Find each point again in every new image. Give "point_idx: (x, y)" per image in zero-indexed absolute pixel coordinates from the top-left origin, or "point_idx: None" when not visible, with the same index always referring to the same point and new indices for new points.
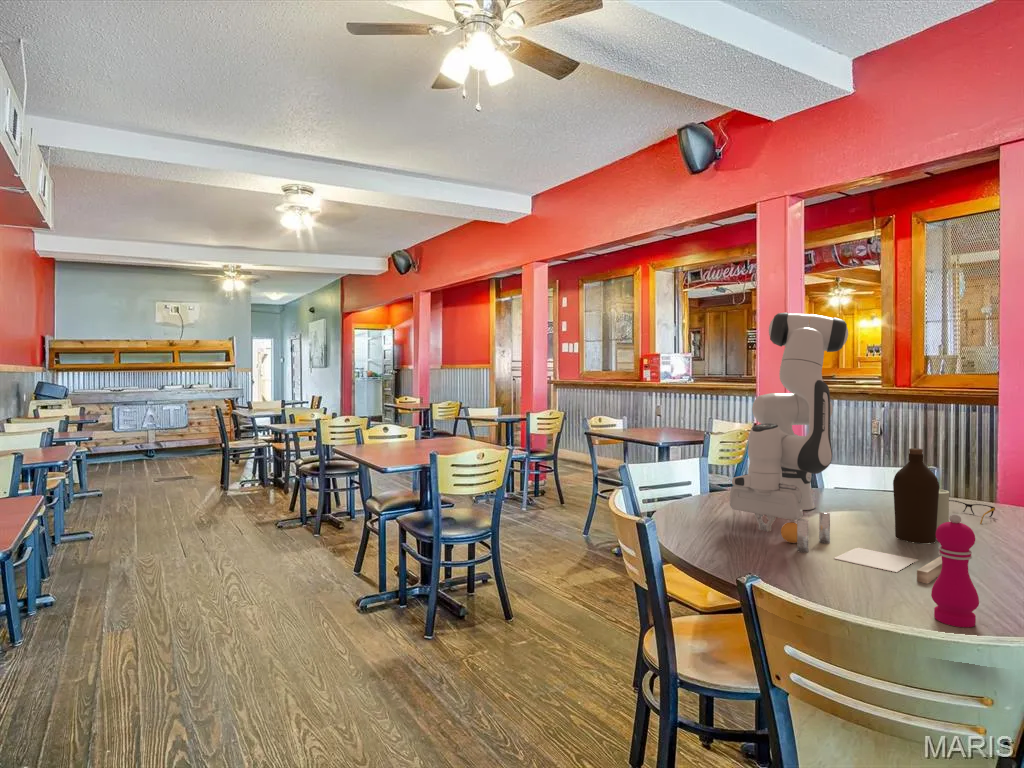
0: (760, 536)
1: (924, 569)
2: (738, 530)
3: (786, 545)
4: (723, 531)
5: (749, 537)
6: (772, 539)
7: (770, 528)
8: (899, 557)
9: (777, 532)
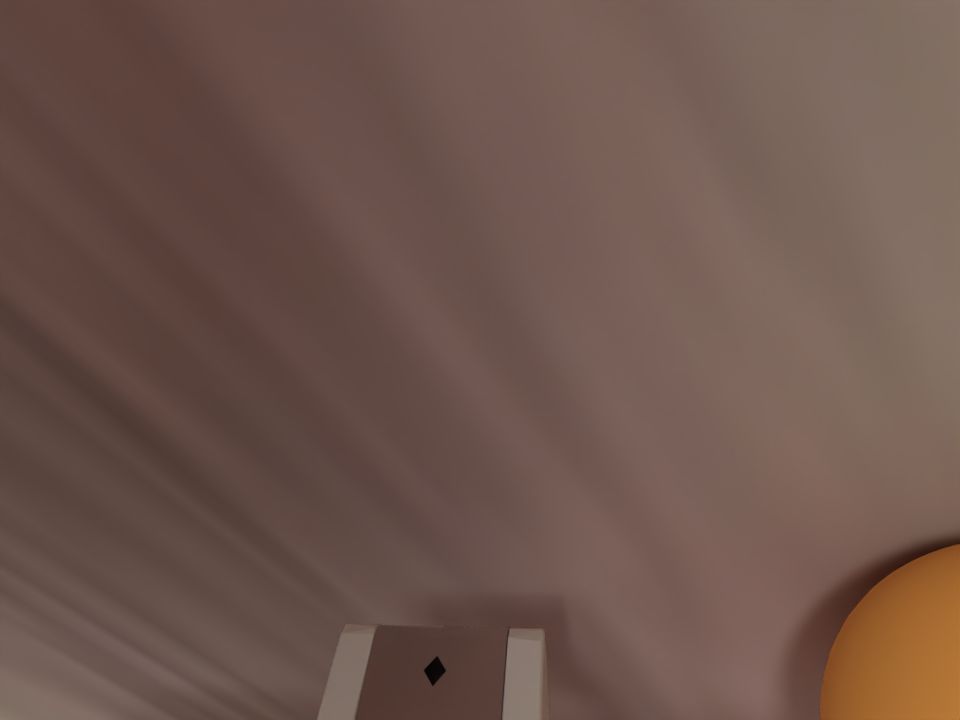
0: (423, 584)
1: None
2: (7, 535)
3: None
4: (9, 662)
5: None
6: (636, 602)
7: (545, 685)
8: None
9: (408, 170)
